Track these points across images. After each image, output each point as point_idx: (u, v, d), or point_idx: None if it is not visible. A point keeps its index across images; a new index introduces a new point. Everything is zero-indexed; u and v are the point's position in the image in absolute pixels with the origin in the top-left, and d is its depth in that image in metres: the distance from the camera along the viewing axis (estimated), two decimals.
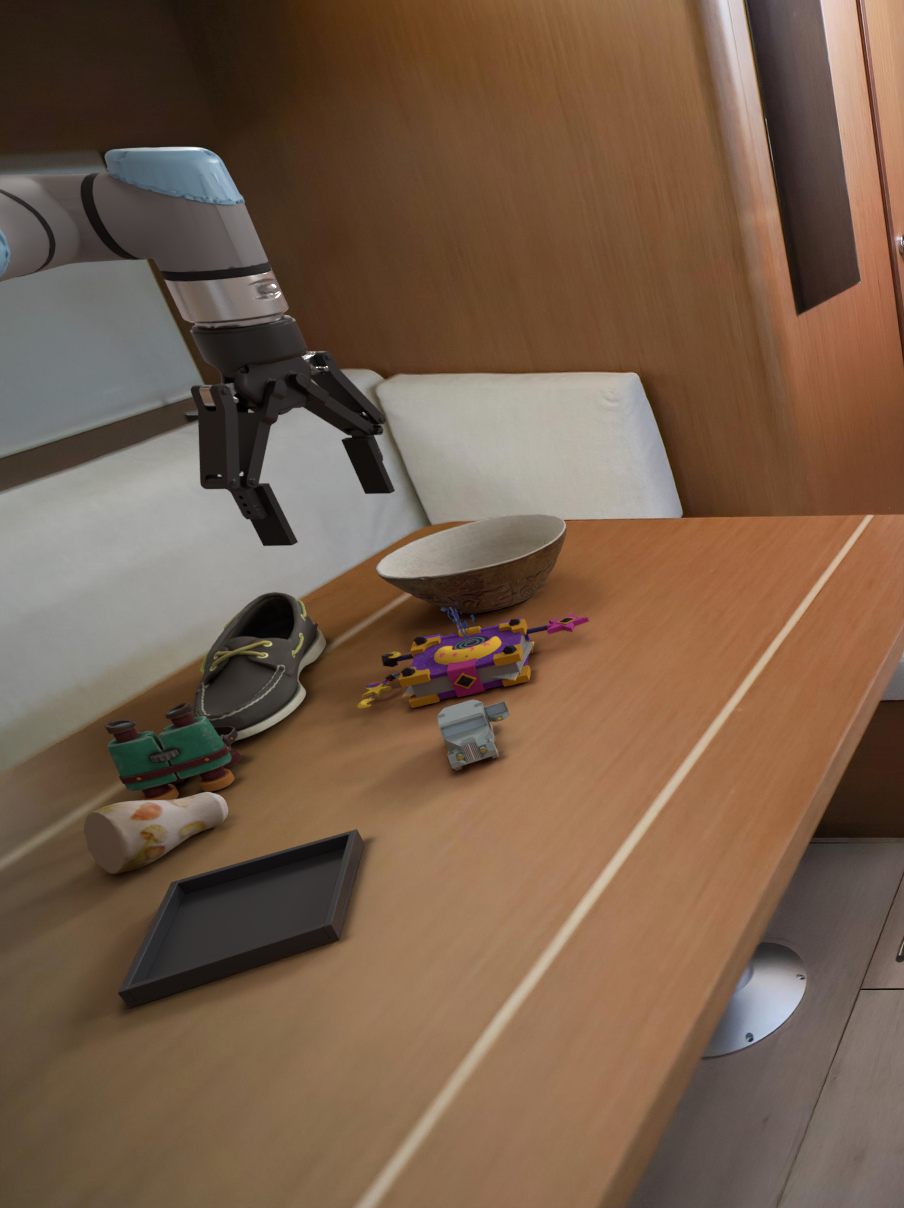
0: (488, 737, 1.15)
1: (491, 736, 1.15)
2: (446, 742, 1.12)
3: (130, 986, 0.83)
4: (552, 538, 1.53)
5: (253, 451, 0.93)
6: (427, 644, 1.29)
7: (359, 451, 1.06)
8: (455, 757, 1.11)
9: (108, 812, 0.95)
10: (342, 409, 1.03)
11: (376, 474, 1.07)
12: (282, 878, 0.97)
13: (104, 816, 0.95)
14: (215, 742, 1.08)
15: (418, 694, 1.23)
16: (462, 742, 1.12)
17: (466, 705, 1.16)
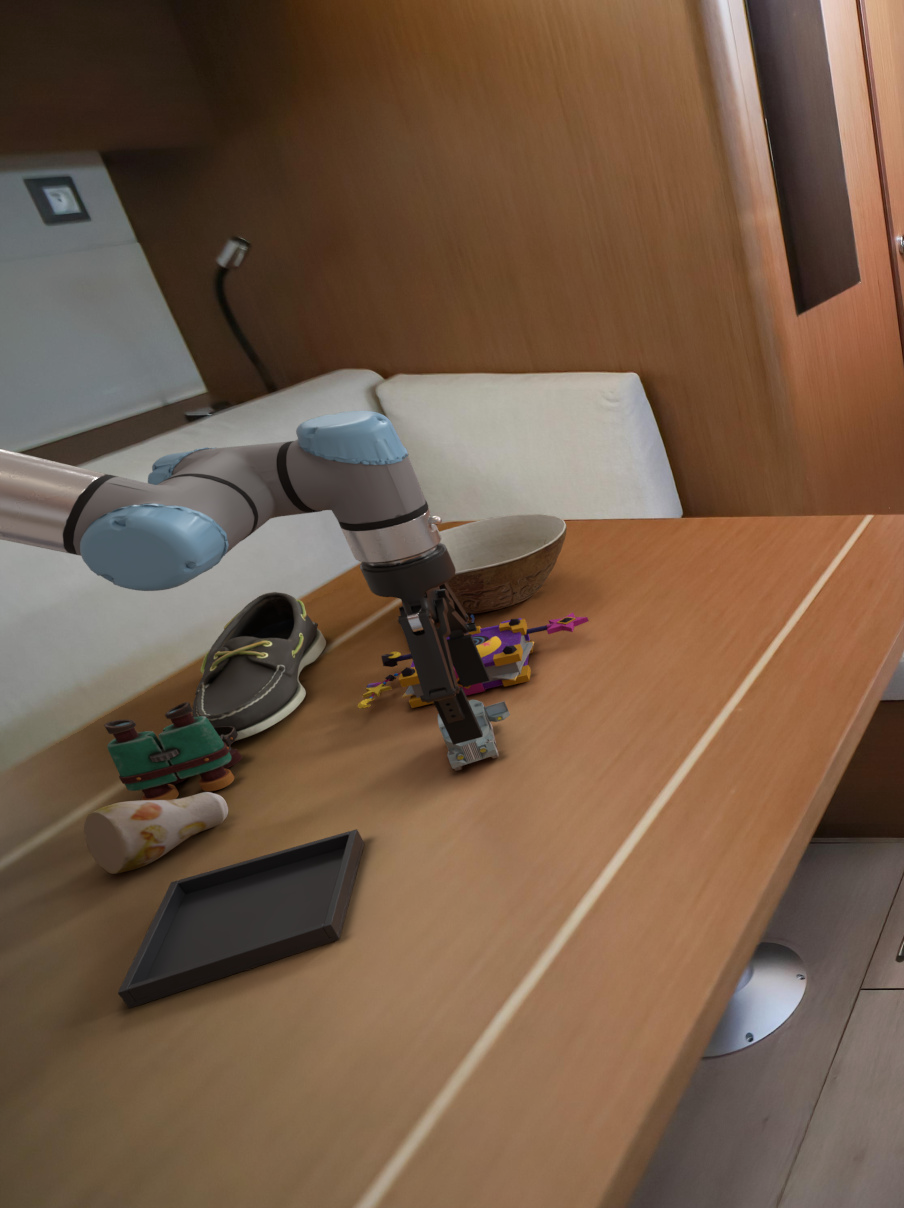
0: (488, 737, 1.15)
1: (491, 736, 1.15)
2: (446, 742, 1.12)
3: (130, 986, 0.83)
4: (552, 538, 1.53)
5: (449, 662, 1.06)
6: None
7: (461, 649, 1.17)
8: (455, 757, 1.11)
9: (108, 812, 0.95)
10: (456, 614, 1.14)
11: (477, 666, 1.19)
12: (282, 878, 0.97)
13: (104, 816, 0.95)
14: (215, 742, 1.08)
15: (418, 694, 1.23)
16: (462, 742, 1.12)
17: None
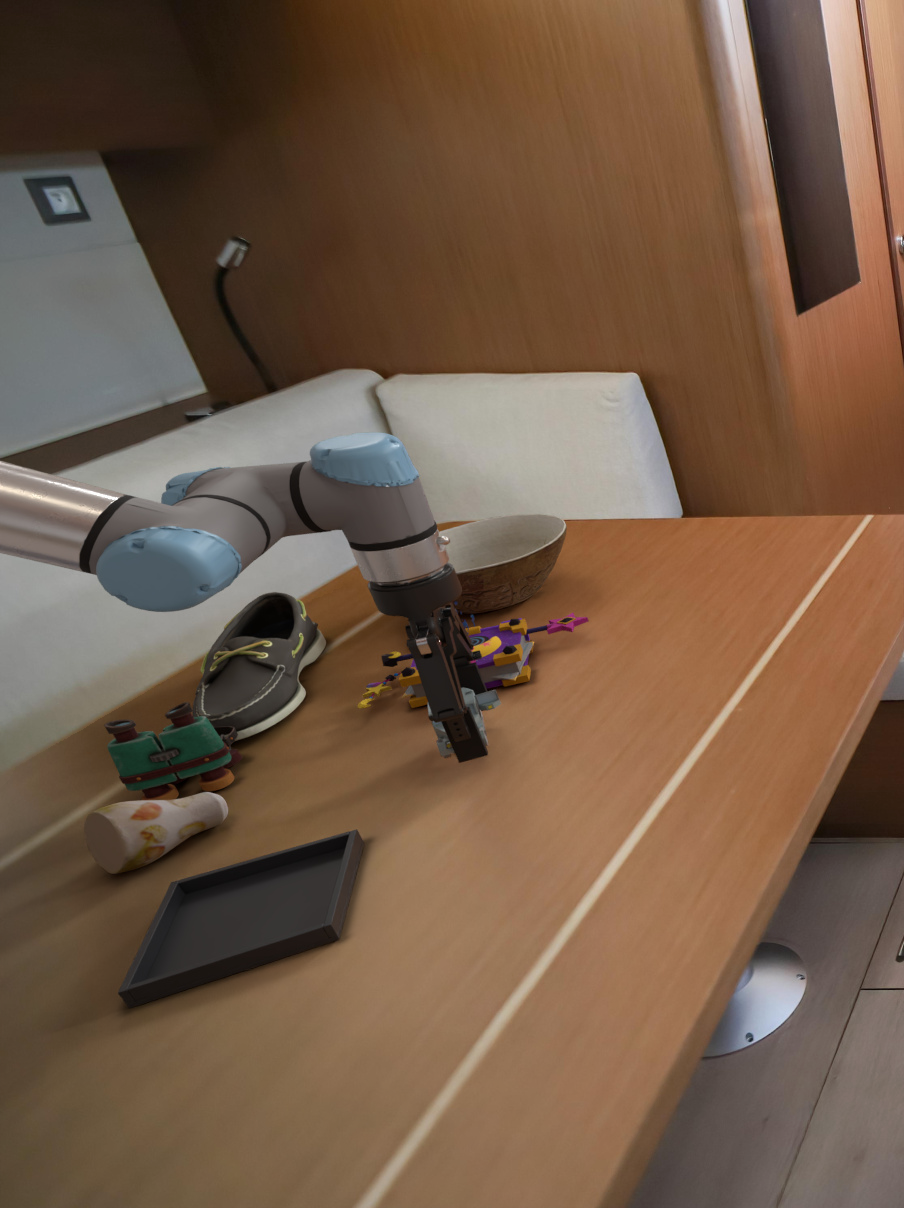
0: (478, 725, 1.14)
1: (481, 724, 1.14)
2: (435, 730, 1.11)
3: (130, 986, 0.83)
4: (552, 538, 1.53)
5: (456, 683, 1.08)
6: None
7: (465, 677, 1.17)
8: (444, 745, 1.10)
9: (108, 812, 0.95)
10: (461, 638, 1.15)
11: None
12: (282, 878, 0.97)
13: (103, 816, 0.95)
14: (215, 742, 1.08)
15: (418, 694, 1.23)
16: None
17: None
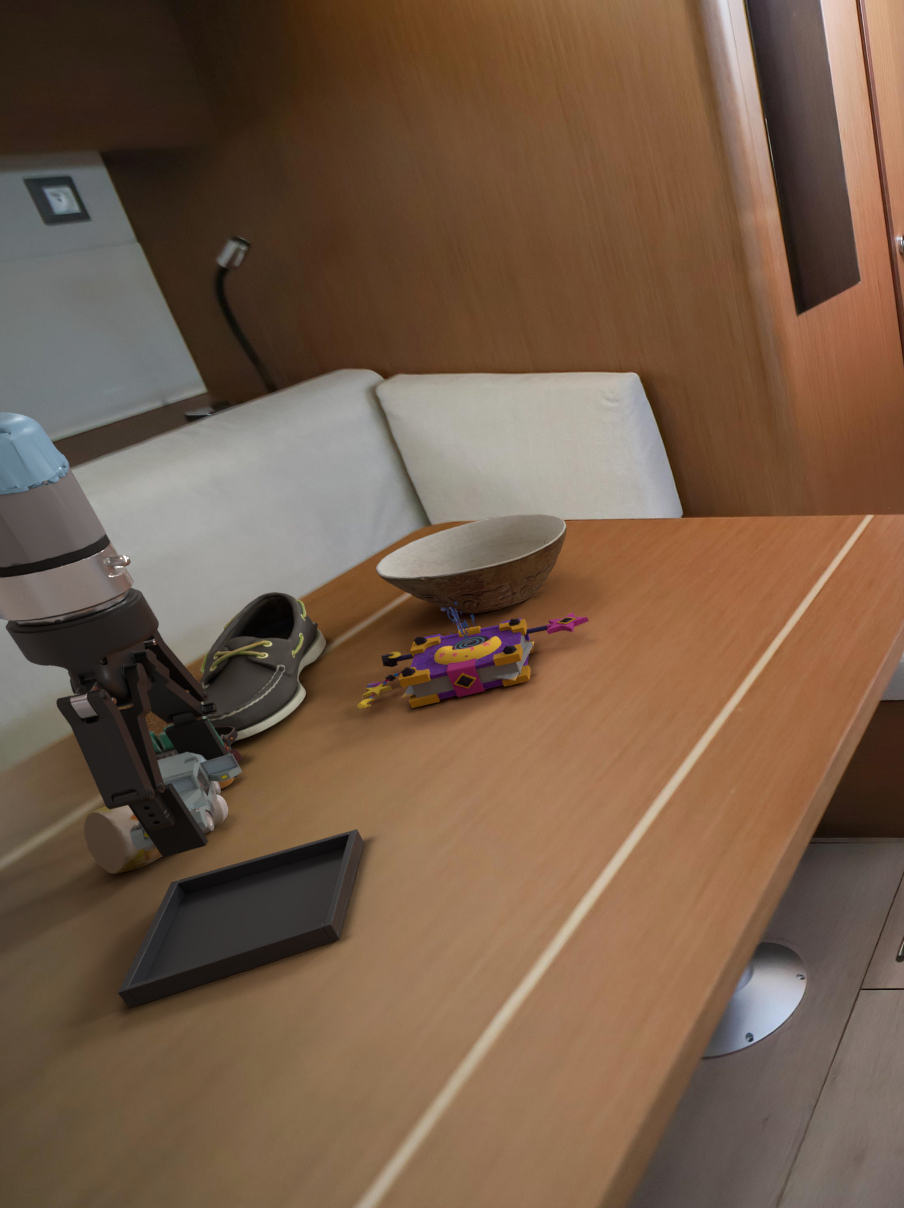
0: (200, 804, 0.86)
1: (205, 802, 0.86)
2: None
3: (130, 986, 0.83)
4: (552, 538, 1.53)
5: (147, 752, 0.80)
6: (427, 644, 1.29)
7: (192, 738, 0.89)
8: (141, 834, 0.82)
9: (108, 812, 0.95)
10: (178, 689, 0.87)
11: None
12: (282, 878, 0.97)
13: (103, 817, 0.95)
14: None
15: (418, 694, 1.23)
16: None
17: (174, 760, 0.87)
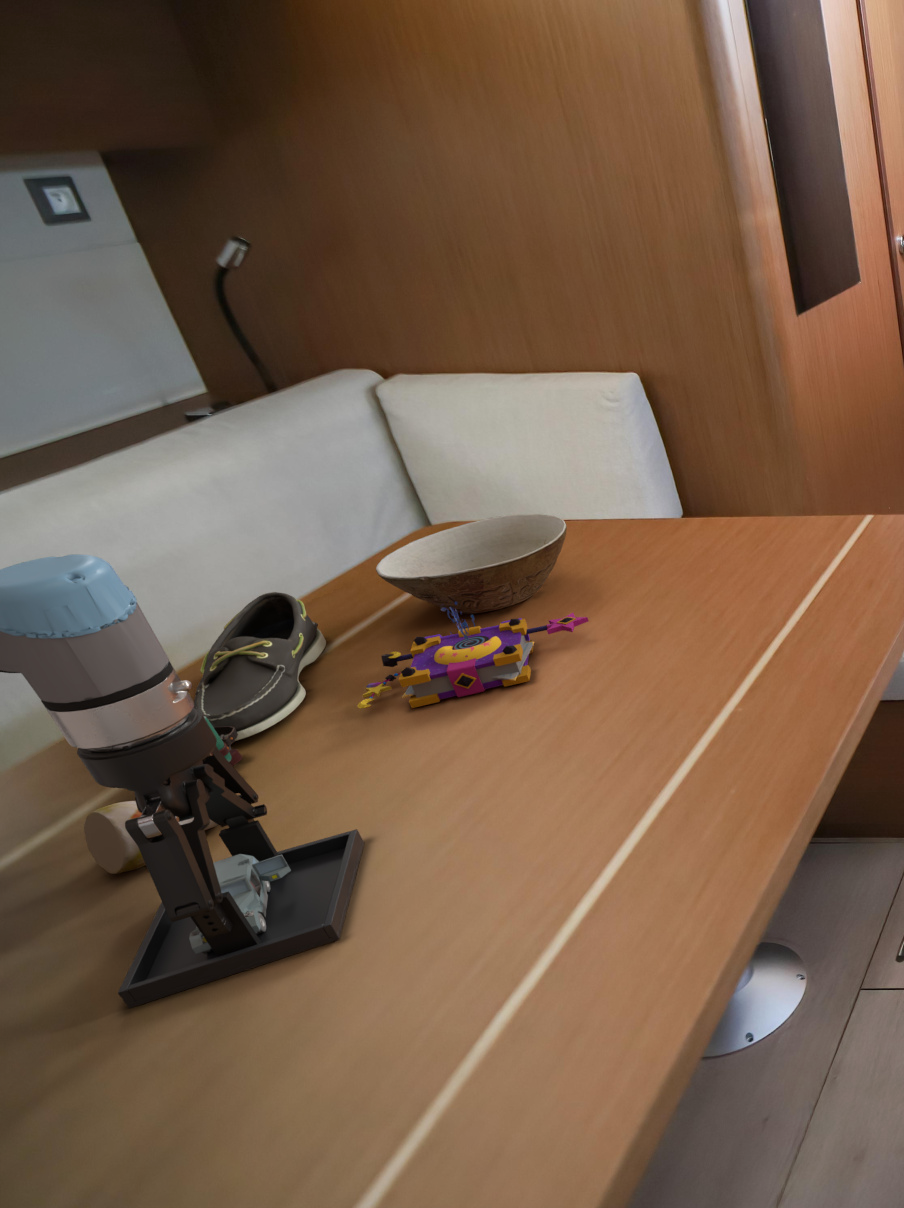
0: (253, 906, 0.91)
1: (257, 904, 0.91)
2: None
3: (130, 986, 0.83)
4: (552, 538, 1.53)
5: (206, 865, 0.85)
6: (427, 644, 1.29)
7: (244, 840, 0.94)
8: (200, 939, 0.87)
9: (108, 812, 0.96)
10: (232, 795, 0.92)
11: (267, 857, 0.96)
12: (282, 878, 0.97)
13: (103, 816, 0.95)
14: None
15: (418, 694, 1.23)
16: None
17: (228, 863, 0.92)
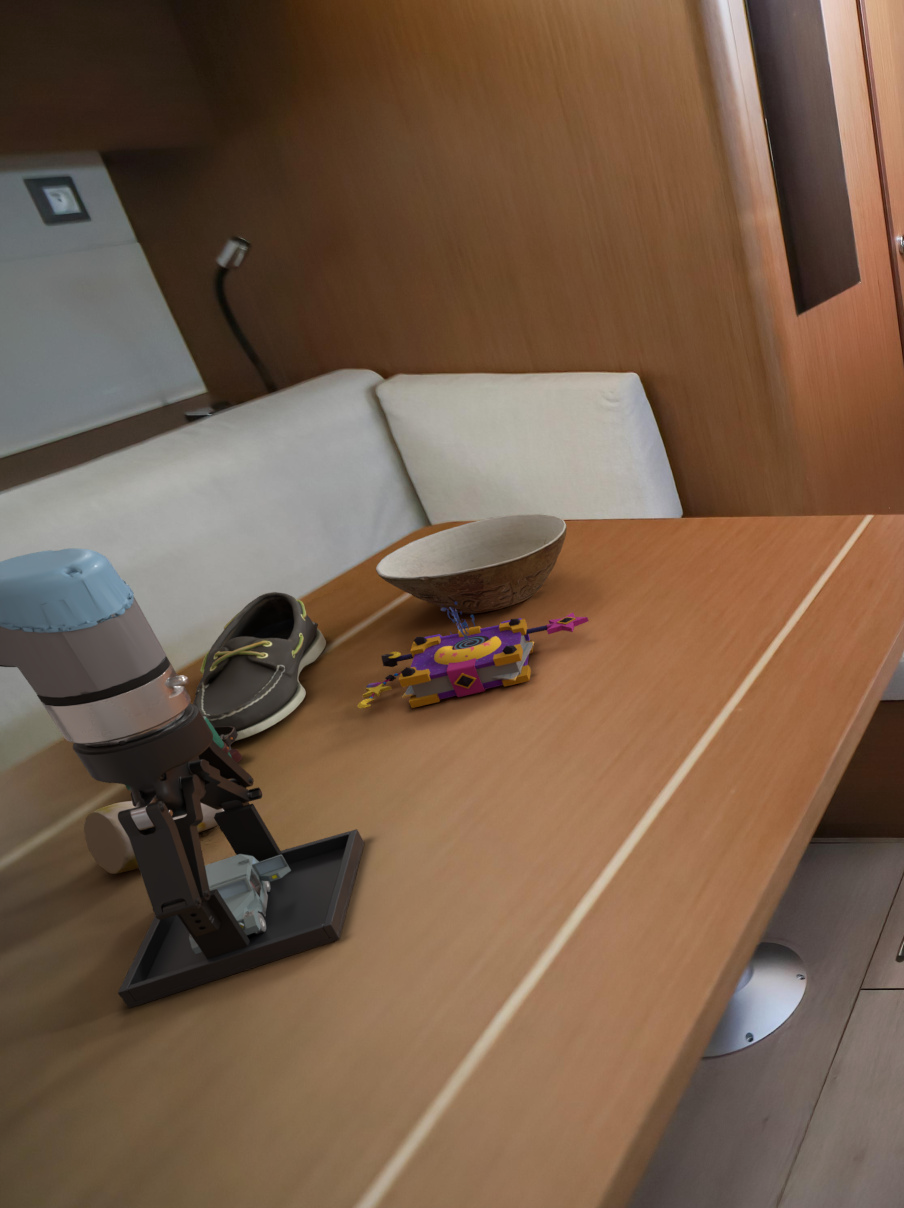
0: (253, 906, 0.91)
1: (257, 904, 0.91)
2: None
3: (130, 986, 0.83)
4: (552, 538, 1.53)
5: (196, 861, 0.83)
6: (427, 644, 1.29)
7: (239, 823, 0.94)
8: None
9: (108, 812, 0.95)
10: (227, 783, 0.92)
11: (262, 841, 0.96)
12: (282, 878, 0.97)
13: (103, 816, 0.95)
14: (215, 742, 1.08)
15: (418, 694, 1.23)
16: None
17: (228, 863, 0.92)
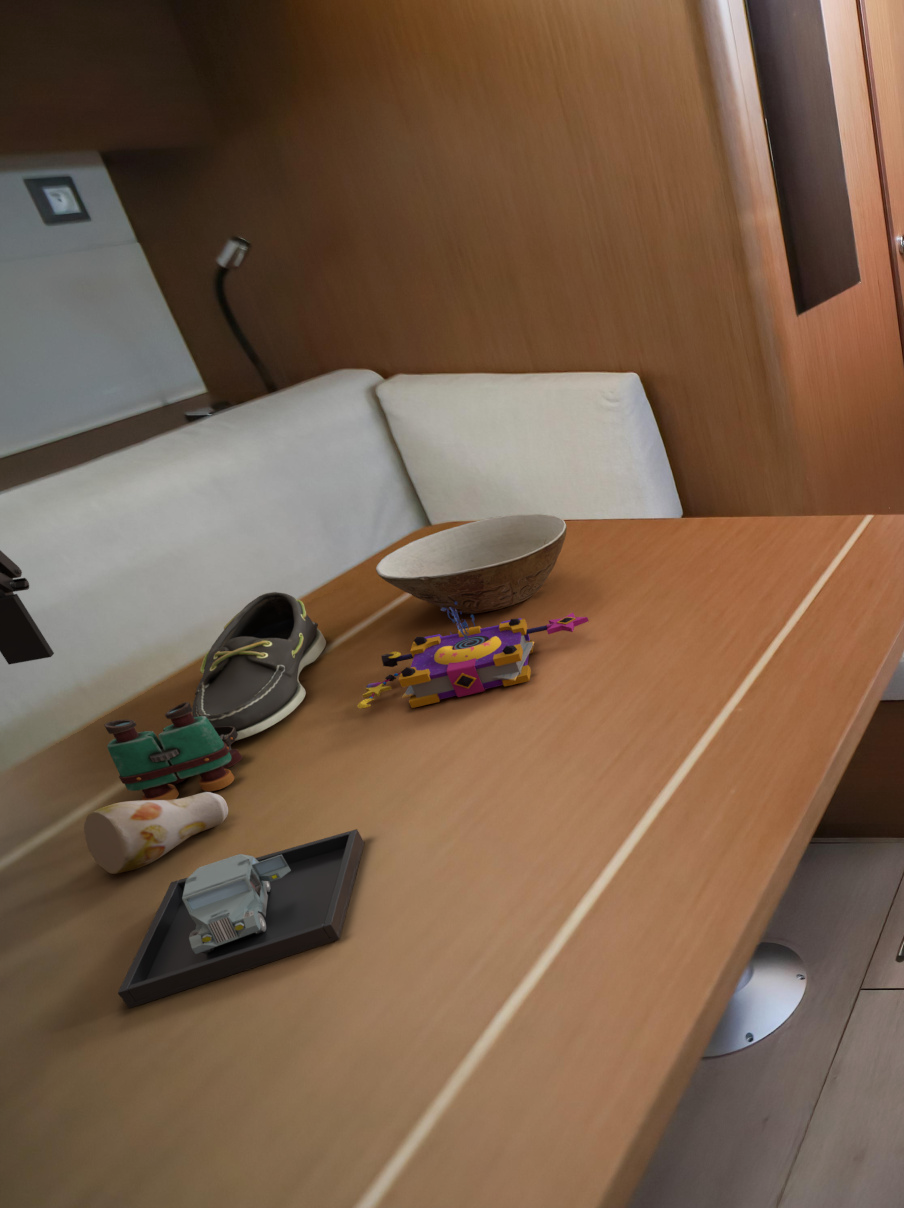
0: (252, 906, 0.91)
1: (257, 904, 0.91)
2: (192, 917, 0.88)
3: (130, 986, 0.83)
4: (552, 538, 1.53)
5: None
6: (427, 644, 1.29)
7: (0, 613, 0.87)
8: (200, 939, 0.87)
9: (108, 812, 0.95)
10: None
11: (29, 636, 0.89)
12: (282, 878, 0.97)
13: (104, 816, 0.95)
14: (215, 742, 1.08)
15: (418, 694, 1.23)
16: (211, 918, 0.88)
17: (228, 863, 0.92)
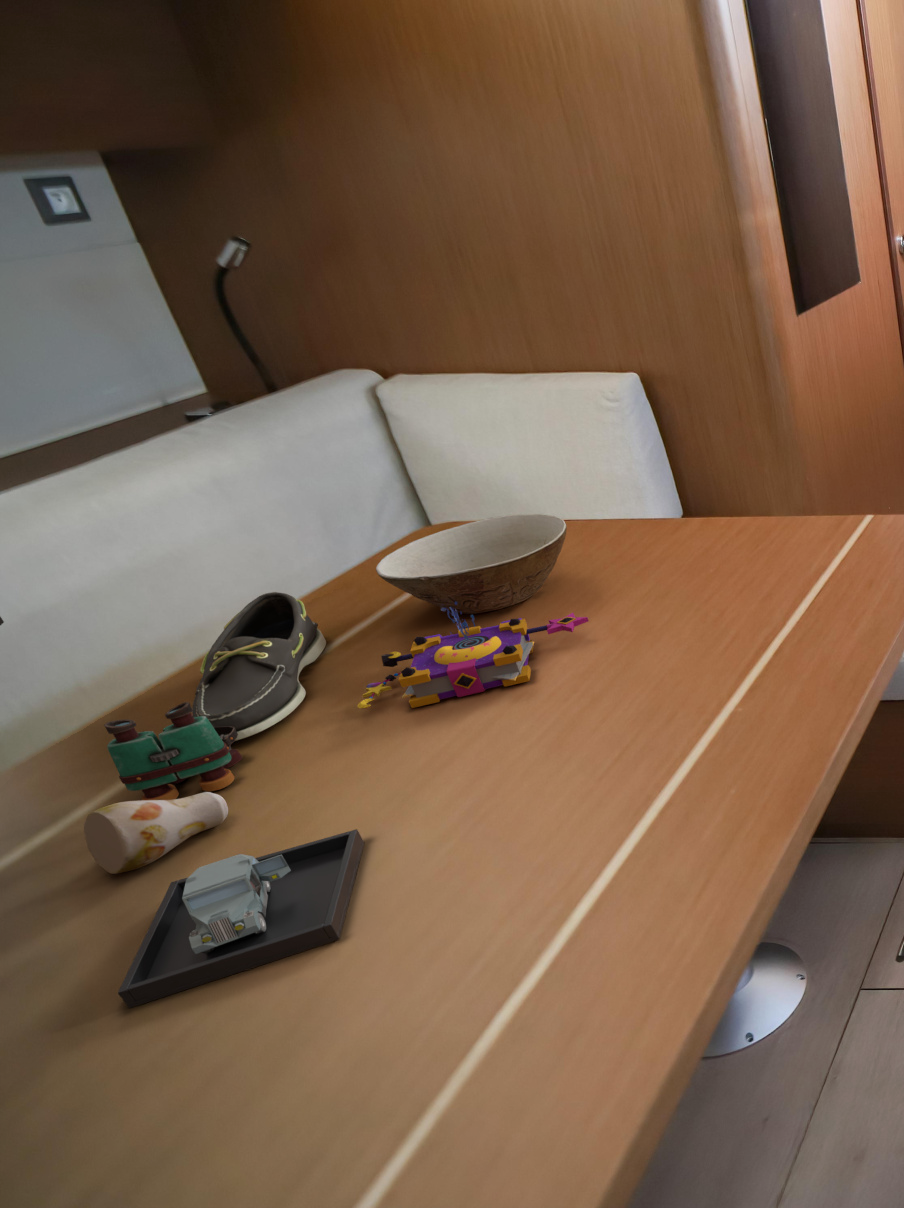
0: (252, 906, 0.91)
1: (257, 904, 0.91)
2: (192, 917, 0.88)
3: (130, 986, 0.83)
4: (552, 538, 1.53)
5: None
6: (427, 644, 1.29)
7: None
8: (200, 939, 0.87)
9: (108, 812, 0.95)
10: None
11: None
12: (282, 878, 0.97)
13: (103, 816, 0.95)
14: (215, 742, 1.08)
15: (418, 694, 1.23)
16: (211, 918, 0.88)
17: (228, 863, 0.92)
